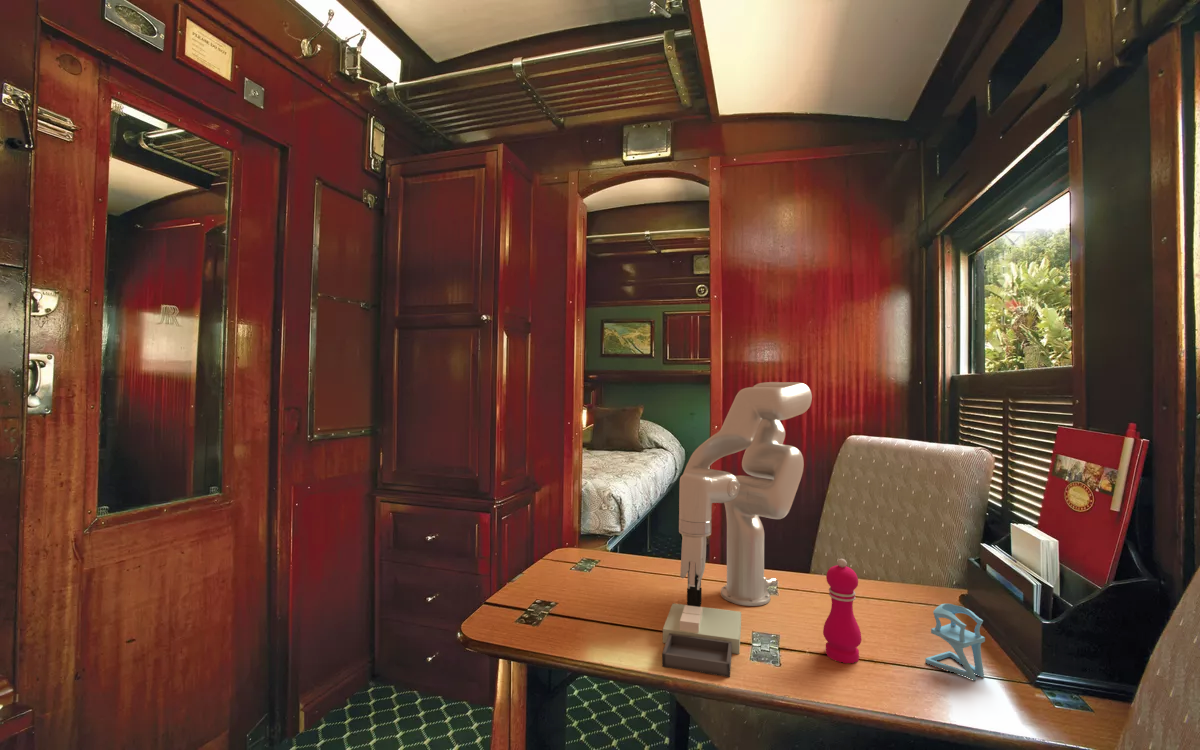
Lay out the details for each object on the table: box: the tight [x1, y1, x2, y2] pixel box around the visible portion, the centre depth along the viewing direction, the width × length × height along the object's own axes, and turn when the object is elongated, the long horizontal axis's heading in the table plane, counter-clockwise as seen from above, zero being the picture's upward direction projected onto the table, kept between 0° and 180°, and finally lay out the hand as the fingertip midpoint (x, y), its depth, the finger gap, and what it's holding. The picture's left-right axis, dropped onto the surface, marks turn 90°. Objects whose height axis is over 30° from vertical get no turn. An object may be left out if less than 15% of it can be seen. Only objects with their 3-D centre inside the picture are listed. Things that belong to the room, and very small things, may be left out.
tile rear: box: [683, 604, 704, 620], centre depth 120 cm, size 4×4×2 cm
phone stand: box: [924, 603, 986, 681], centre depth 105 cm, size 8×8×12 cm
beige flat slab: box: [662, 602, 742, 655], centre depth 119 cm, size 14×16×3 cm
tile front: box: [680, 613, 701, 633], centre depth 115 cm, size 4×4×2 cm
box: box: [661, 633, 733, 678], centre depth 107 cm, size 9×13×2 cm
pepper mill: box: [822, 558, 862, 664], centre depth 110 cm, size 7×7×20 cm
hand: (694, 604), depth 124 cm, fingers closed
